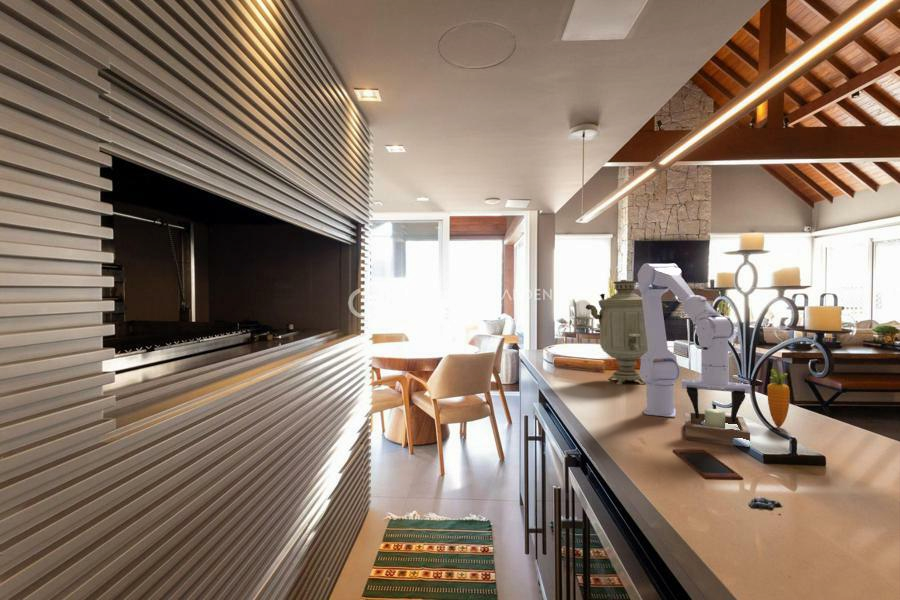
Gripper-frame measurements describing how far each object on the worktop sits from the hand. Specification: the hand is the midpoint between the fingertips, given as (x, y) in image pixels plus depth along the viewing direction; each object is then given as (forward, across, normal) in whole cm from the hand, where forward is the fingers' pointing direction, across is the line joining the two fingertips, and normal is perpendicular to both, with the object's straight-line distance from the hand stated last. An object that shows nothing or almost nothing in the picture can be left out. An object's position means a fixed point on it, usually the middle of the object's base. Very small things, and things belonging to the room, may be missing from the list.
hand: (714, 419), depth 109 cm
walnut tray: (+4, 0, 0) cm, 4 cm away
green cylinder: (+3, 0, 0) cm, 3 cm away
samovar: (+4, -27, +57) cm, 63 cm away
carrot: (+4, +15, +14) cm, 21 cm away
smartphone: (+4, -3, -22) cm, 23 cm away
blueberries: (+5, +5, -38) cm, 39 cm away
